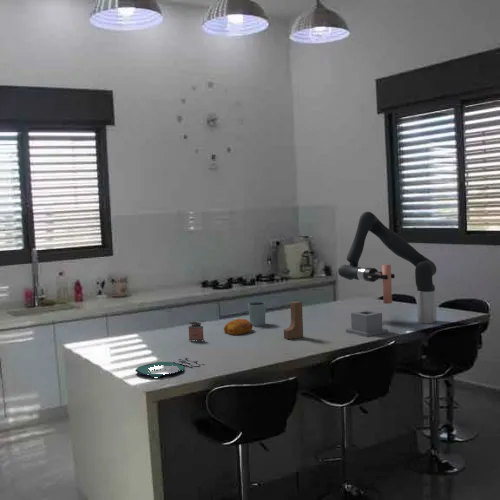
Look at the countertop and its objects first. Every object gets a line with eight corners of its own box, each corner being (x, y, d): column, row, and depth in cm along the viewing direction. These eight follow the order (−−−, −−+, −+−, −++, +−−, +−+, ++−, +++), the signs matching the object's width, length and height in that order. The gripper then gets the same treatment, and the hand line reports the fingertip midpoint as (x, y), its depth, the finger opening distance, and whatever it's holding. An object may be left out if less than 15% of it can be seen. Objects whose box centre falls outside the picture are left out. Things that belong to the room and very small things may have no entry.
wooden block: (288, 339, 317) (287, 304, 316) (283, 338, 321) (282, 302, 319) (303, 337, 321) (302, 302, 320) (298, 335, 325) (297, 300, 324)
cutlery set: (127, 373, 269) (127, 367, 269) (184, 359, 289) (184, 354, 289) (153, 382, 255) (153, 377, 254) (212, 368, 275) (212, 362, 275)
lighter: (205, 340, 324) (204, 320, 323) (202, 341, 321) (201, 322, 320) (190, 339, 327) (189, 320, 326) (187, 341, 324) (186, 321, 323)
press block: (367, 327, 337) (367, 309, 336) (388, 332, 324) (387, 312, 324) (346, 332, 329) (345, 312, 328) (366, 336, 316) (365, 317, 315)
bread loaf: (257, 335, 341) (258, 320, 341) (236, 336, 330) (237, 321, 330) (238, 331, 351) (239, 316, 351) (217, 332, 340) (218, 317, 340)
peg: (387, 301, 338) (386, 264, 336) (393, 302, 334) (392, 264, 333) (381, 302, 336) (380, 265, 334) (387, 303, 332) (386, 265, 330)
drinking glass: (246, 325, 355) (245, 304, 354) (252, 322, 364) (251, 301, 363) (263, 326, 351) (262, 305, 350) (269, 322, 360) (268, 302, 359)
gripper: (357, 268, 342) (380, 271, 327) (377, 266, 349) (400, 268, 335) (358, 282, 342) (381, 285, 328) (377, 279, 350) (400, 282, 336)
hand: (390, 276), depth 331 cm, fingers closed on peg, 4 cm apart
